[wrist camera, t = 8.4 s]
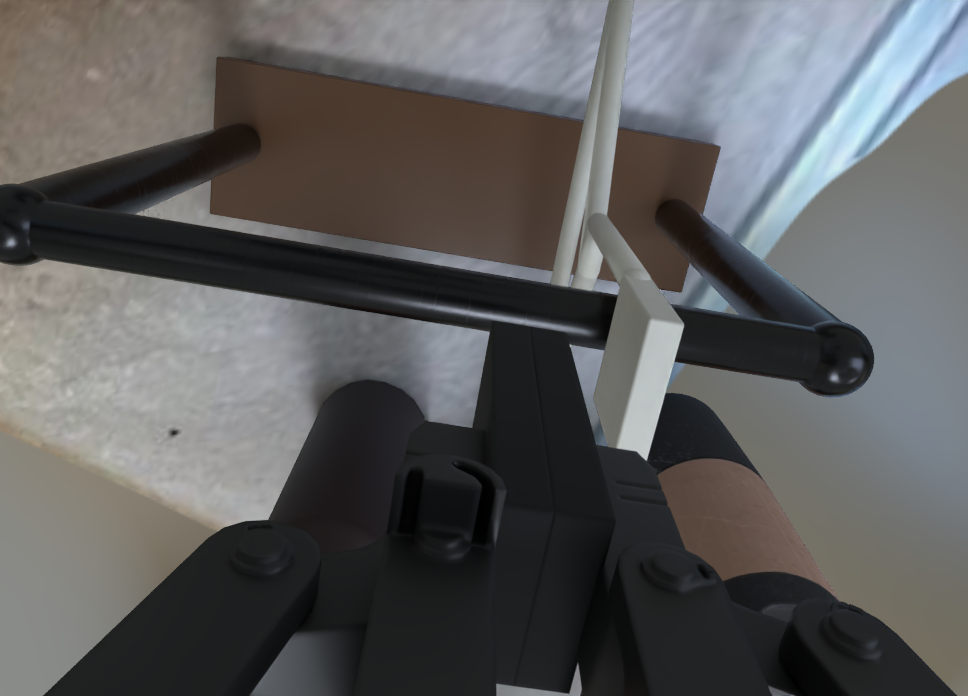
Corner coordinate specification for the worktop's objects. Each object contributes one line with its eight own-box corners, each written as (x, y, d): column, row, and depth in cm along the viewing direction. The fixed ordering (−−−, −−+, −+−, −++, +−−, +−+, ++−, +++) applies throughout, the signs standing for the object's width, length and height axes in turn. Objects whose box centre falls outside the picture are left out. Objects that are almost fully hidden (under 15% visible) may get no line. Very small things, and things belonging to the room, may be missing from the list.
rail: (225, 56, 40) (-81, 61, 19) (713, 143, 42) (955, 241, 20) (218, 208, 43) (-55, 366, 21) (675, 285, 44) (851, 505, 23)
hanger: (620, -63, 30) (785, -207, 13) (641, -59, 30) (830, -198, 13) (513, 453, 38) (532, 768, 21) (529, 456, 38) (561, 772, 21)
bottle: (306, 460, 49) (193, 716, 30) (330, 364, 46) (223, 576, 28) (411, 488, 49) (364, 755, 31) (440, 394, 47) (408, 622, 28)
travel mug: (655, 519, 50) (754, 798, 31) (578, 440, 48) (636, 688, 29) (753, 448, 48) (921, 699, 29) (677, 363, 46) (806, 575, 27)
